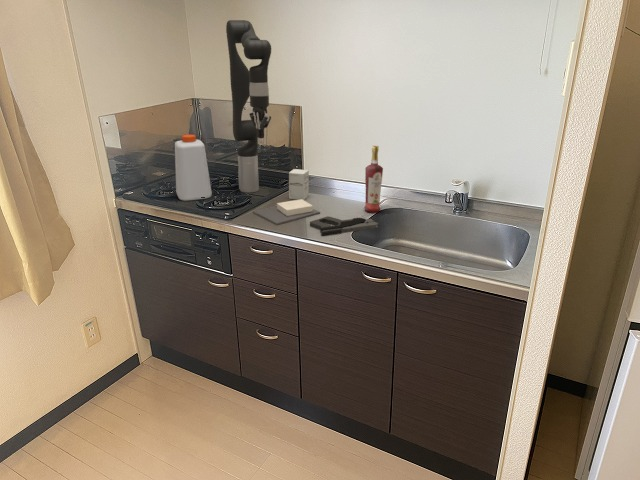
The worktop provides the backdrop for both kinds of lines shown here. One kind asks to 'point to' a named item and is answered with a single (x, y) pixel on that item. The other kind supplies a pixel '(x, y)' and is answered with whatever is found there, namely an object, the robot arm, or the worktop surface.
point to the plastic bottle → (191, 169)
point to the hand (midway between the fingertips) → (260, 137)
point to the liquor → (373, 182)
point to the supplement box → (298, 184)
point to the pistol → (342, 225)
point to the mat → (281, 215)
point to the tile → (294, 207)
